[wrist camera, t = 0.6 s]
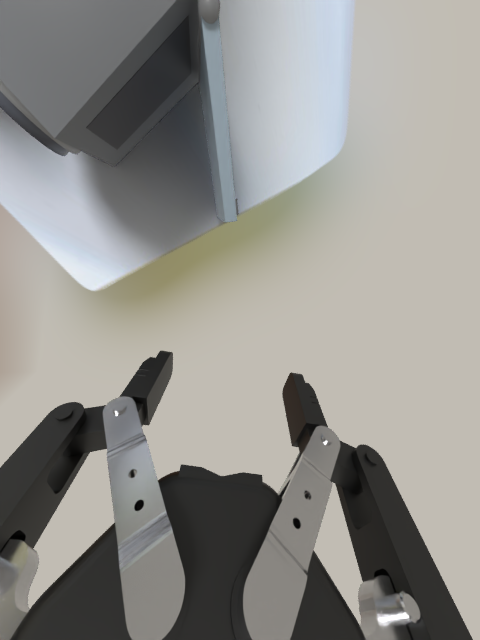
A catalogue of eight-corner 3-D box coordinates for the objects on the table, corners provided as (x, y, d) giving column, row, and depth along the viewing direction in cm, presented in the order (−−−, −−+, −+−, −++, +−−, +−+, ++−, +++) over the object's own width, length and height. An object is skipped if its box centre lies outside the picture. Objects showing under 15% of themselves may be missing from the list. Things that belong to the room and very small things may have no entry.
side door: (216, 217, 28) (224, 222, 19) (197, 78, 21) (196, -16, 12) (230, 216, 29) (245, 220, 20) (216, 77, 22) (228, -16, 13)
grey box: (35, 102, 21) (-143, -13, 10) (157, -45, 18) (92, -437, 7) (103, 178, 25) (30, 155, 14) (212, 68, 22) (226, -70, 11)
